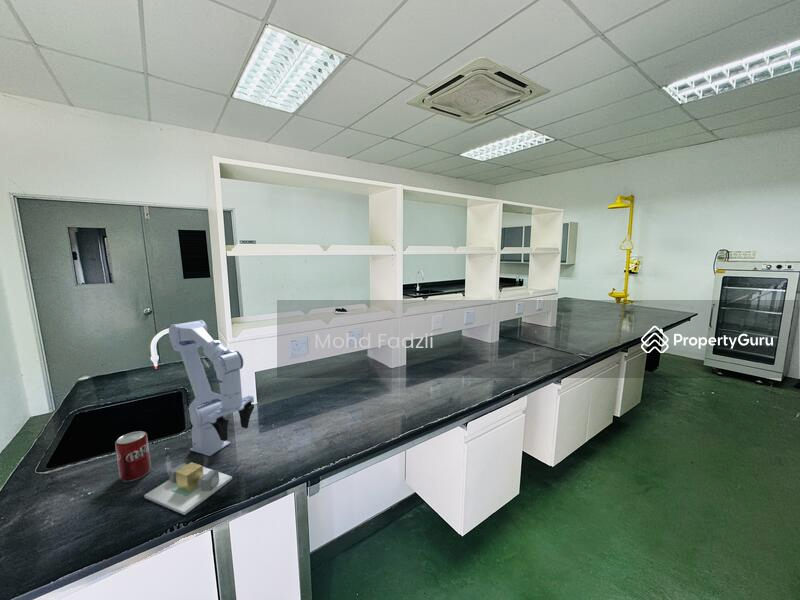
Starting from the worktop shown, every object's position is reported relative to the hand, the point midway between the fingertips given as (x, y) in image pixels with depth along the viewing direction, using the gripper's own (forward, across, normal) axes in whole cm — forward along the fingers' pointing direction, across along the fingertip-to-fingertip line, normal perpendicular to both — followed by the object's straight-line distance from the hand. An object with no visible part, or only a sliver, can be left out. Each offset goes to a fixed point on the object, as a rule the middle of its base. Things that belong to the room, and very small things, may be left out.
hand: (234, 433), depth 99 cm
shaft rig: (+10, -13, +3) cm, 17 cm away
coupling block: (+9, -13, +3) cm, 16 cm away
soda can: (+10, -15, +24) cm, 30 cm away
